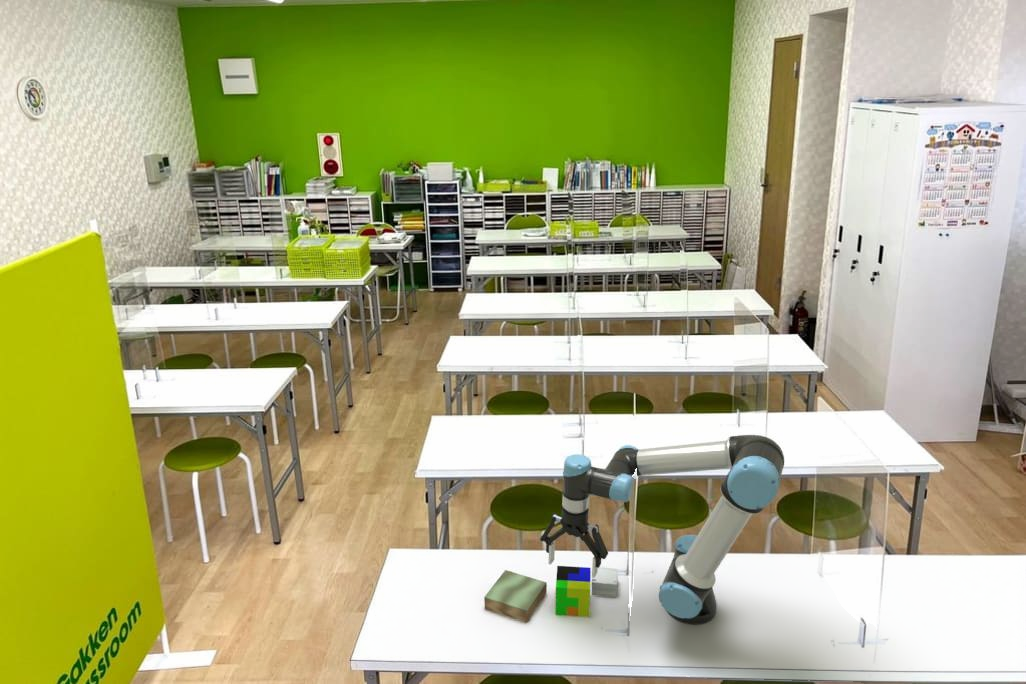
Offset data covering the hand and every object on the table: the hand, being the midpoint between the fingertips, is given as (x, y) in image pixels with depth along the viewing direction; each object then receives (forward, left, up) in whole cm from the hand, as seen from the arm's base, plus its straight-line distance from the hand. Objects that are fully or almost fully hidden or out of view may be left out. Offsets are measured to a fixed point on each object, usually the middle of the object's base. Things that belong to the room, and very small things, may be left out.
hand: (572, 568), depth 225 cm
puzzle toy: (0, 0, -13) cm, 13 cm away
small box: (-6, -11, -13) cm, 19 cm away
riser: (+16, +6, -13) cm, 21 cm away
